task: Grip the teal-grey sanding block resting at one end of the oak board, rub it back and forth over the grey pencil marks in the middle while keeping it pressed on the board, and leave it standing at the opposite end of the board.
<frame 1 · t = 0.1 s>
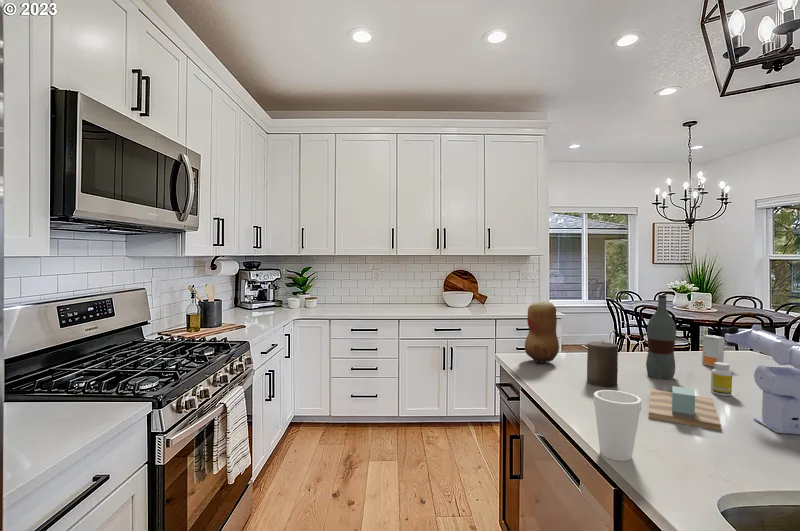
hand: (736, 331, 132), 22 cm above the countertop, tool horizontal, fingers open, 7 cm apart
supplement bottle: (720, 394, 141), on the countertop
oak board: (681, 410, 125), on the countertop
butternut squash: (541, 362, 179), on the countertop
skincare box: (712, 366, 176), on the countertop
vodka: (660, 376, 160), on the countertop
sanding block: (682, 412, 119), point 2 cm above the countertop, touching oak board
pillar candle: (601, 383, 151), on the countertop
foam cup: (615, 455, 97), on the countertop
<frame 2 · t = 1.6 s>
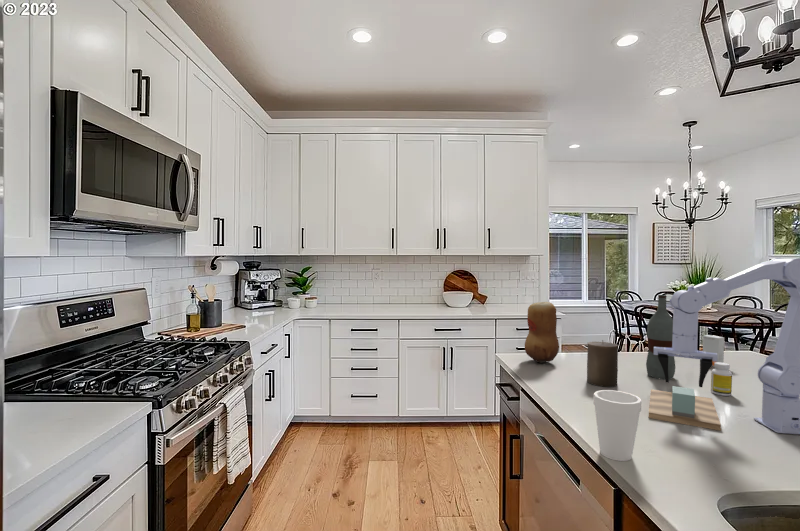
hand: (683, 383, 119), 9 cm above the countertop, tool pointing down, fingers open, 7 cm apart
nothing on the countertop moved.
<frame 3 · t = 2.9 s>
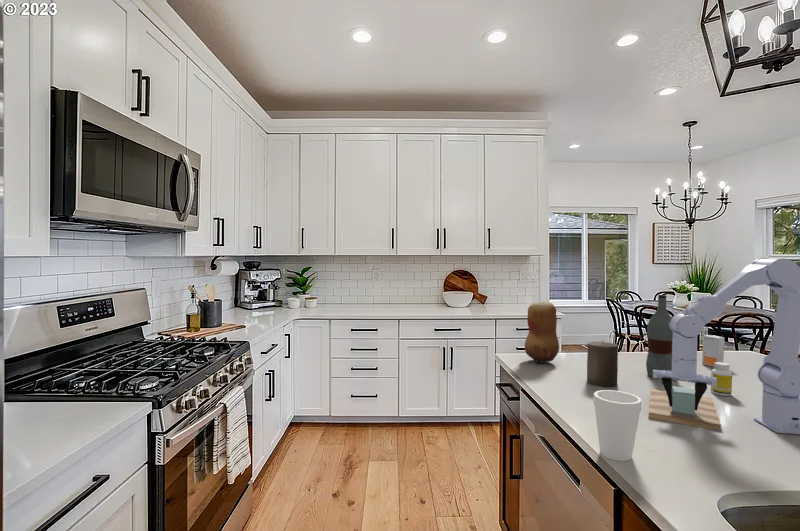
hand: (682, 407, 119), 3 cm above the countertop, tool pointing down, fingers closed on sanding block, 5 cm apart
sanding block: (682, 412, 119), point 2 cm above the countertop, touching gripper, oak board
everything else where it was.
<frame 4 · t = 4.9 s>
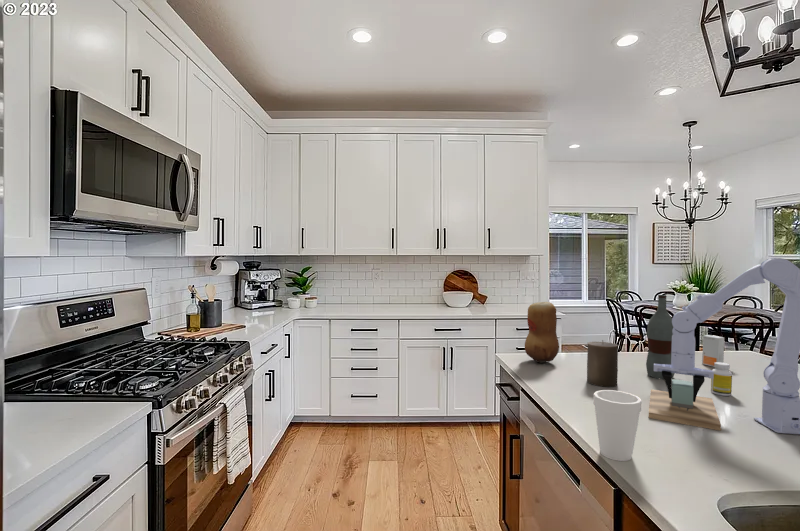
hand: (681, 399, 126), 3 cm above the countertop, tool pointing down, fingers closed on sanding block, 5 cm apart
sanding block: (681, 403, 126), point 2 cm above the countertop, touching gripper
everything else where it was.
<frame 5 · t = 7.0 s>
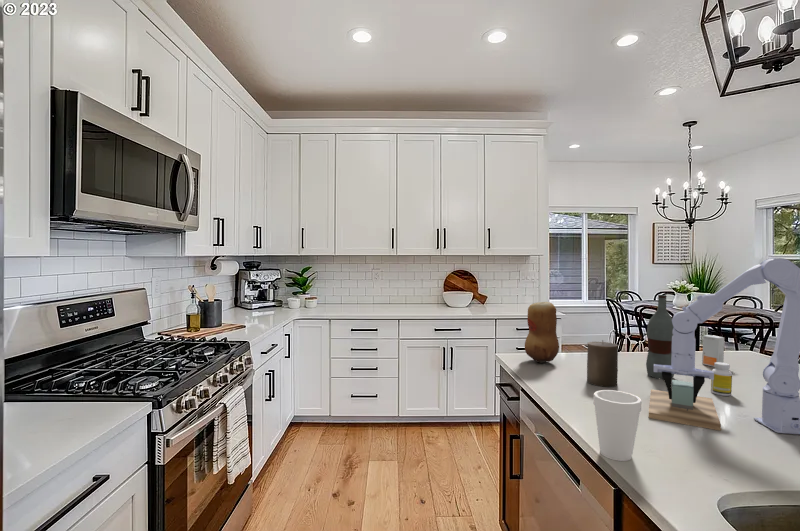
hand: (681, 400, 125), 3 cm above the countertop, tool pointing down, fingers closed on sanding block, 5 cm apart
sanding block: (681, 404, 125), point 2 cm above the countertop, touching gripper
everything else where it was.
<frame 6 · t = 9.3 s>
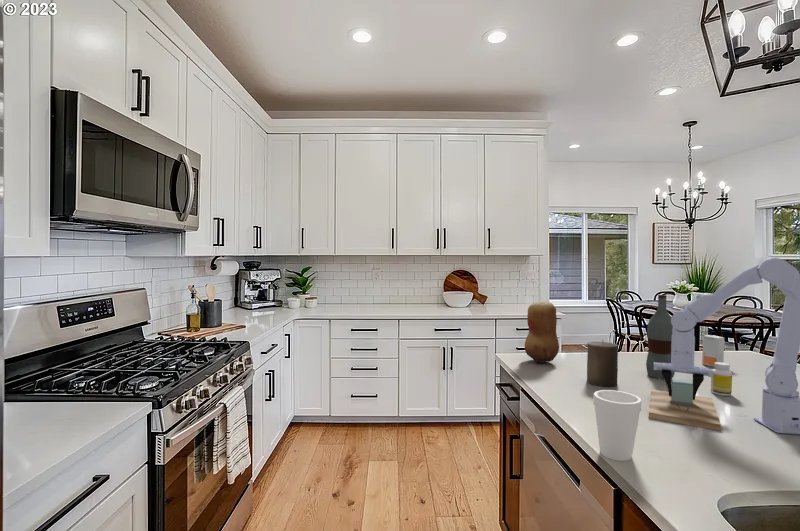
hand: (681, 397, 128), 3 cm above the countertop, tool pointing down, fingers closed on sanding block, 5 cm apart
sanding block: (681, 401, 128), point 2 cm above the countertop, touching gripper
everything else where it was.
when the fingers open (3 cm above the countertop, at t = 11.3 s): sanding block stays where it is, resting on oak board.
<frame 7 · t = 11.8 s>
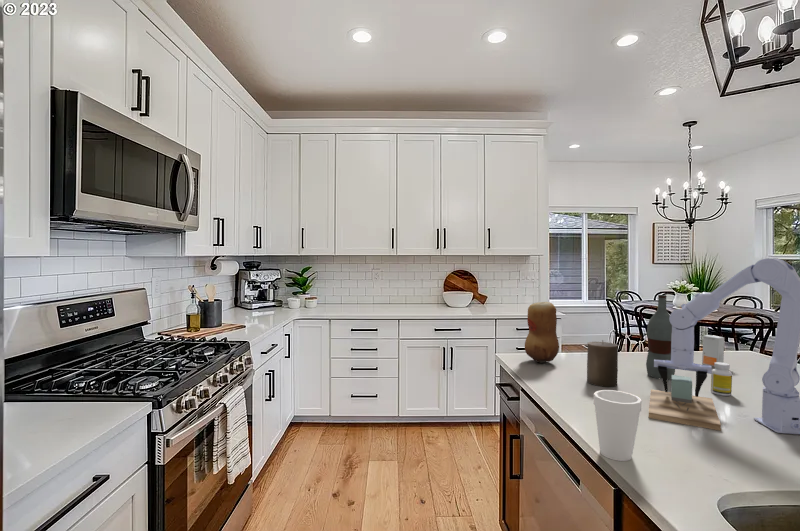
hand: (681, 393, 131), 3 cm above the countertop, tool pointing down, fingers open, 7 cm apart
sanding block: (681, 398, 131), point 2 cm above the countertop, touching oak board
everything else where it was.
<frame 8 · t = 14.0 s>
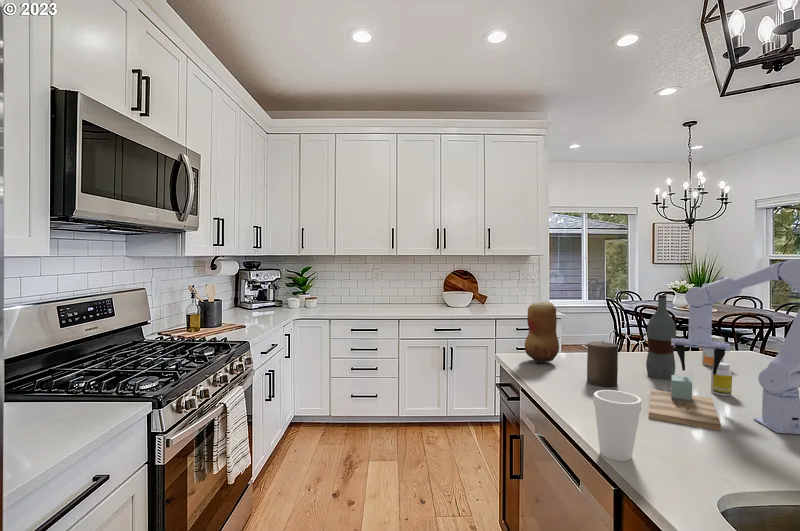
hand: (698, 371, 131), 9 cm above the countertop, tool pointing down, fingers open, 7 cm apart
nothing on the countertop moved.
at the end: sanding block 0.3 cm from the target spot on the oak board, point 1.5 cm above the oak board's base; sanding block tilted 0°; the gripper is holding nothing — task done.
